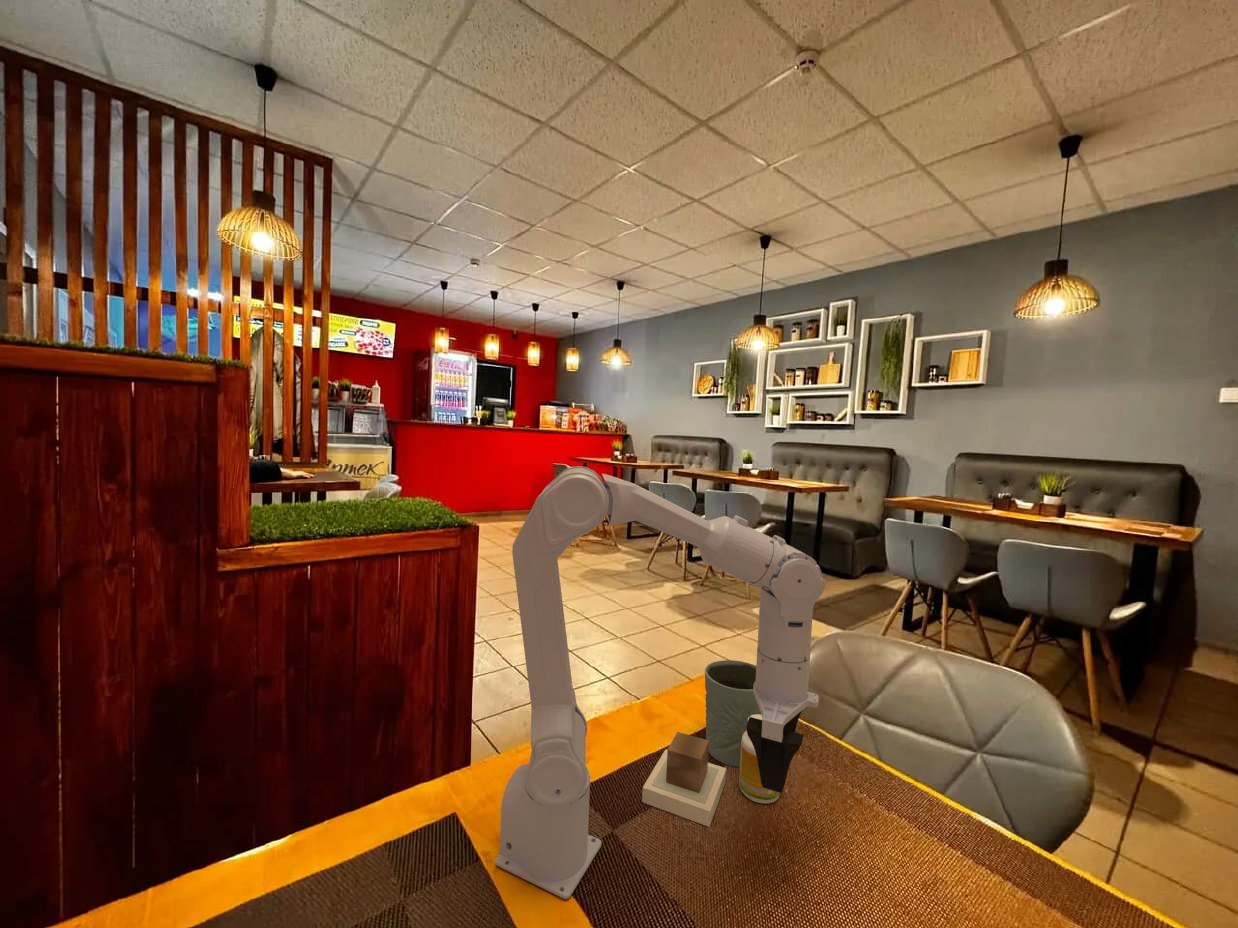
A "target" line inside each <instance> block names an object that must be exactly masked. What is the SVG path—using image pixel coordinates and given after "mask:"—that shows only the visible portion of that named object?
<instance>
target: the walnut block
mask: <svg viewBox="0 0 1238 928" xmlns="http://www.w3.org/2000/svg"><path fill="white" fill-rule="evenodd" d="M708 748H709V740H706V738H705V739H704V738H702V737H698V736H693V735H692V734H691V735H690V734H687V733H682V732H680V731H677V732H676V733H675V736H674V737H673V739H672V740H671V743H670V745H669V746H668V748H667V749H666V750H667V772H666V783H669V784H672V785H675V786H678V787H681V788H685V789H688V790H691V791H694V792H697V793H700V790H701V787H702V785H703V782H704V779H705V777H706V774H707V768H708V763H709V751H708Z"/></svg>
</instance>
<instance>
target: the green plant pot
mask: <svg viewBox="0 0 1238 928" xmlns="http://www.w3.org/2000/svg"><path fill="white" fill-rule="evenodd" d="M755 681H756V664H752V663H749V662H746V661H741V660H735V659H733V660H732V659H731V660H728V659H726V660H724V659H723V660H717V661H714V662H711V663H709V664H708V665H706V667H705V668H704V685H705V687H704V688H705V689H704V690H705V691H706V693H705V695H704V696H705V740H709V748H708V754H710V756H711V757H712V758H713V759H714V760H715V761H718V762H719V763H722V764H723V765H726V766H730V767H734V768H740V759H741V741H742V736H743V734H744V733H745V732H746V731H747V722H748V718H749V717H750V716H751V715H755V714H760V715H761V712H760V709H759V706H758V704H757V701H756V698H755V696H754V693H753V685H754V682H755Z"/></svg>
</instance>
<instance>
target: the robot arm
mask: <svg viewBox="0 0 1238 928" xmlns="http://www.w3.org/2000/svg"><path fill="white" fill-rule="evenodd" d="M601 475H602V477H603V478H602V477H601V476H600V475H599V474H598V473H597V472H596V471H595V470H593V469H591V468H589V467H586V466H581V465H579V466H578V465H577V466H571V467H568V468H566V469H564V470H562V471H561V472H560V473H559V474H558V475H556V477H554V479H552V481H550V483H548V484H547V485H546V486H545V488H544V489H543V490H542V492H541V493H540V494H538V496H537V497H536V499H535V501H534V504H533V506H532V507H531V509H530V512H529V513H528V515H527V517H526V518H525V520H524V522H523V525H522V526H521V528H520V529H519V531H518V534H517V535H516V537H515V540H513V543H512V550H511V555H512V562H513V570H514V576H515V577H514V578H515V585H516V592H517V593H516V595H517V601H518V611H519V617H520V624H521V625H520V626H521V627H520V628H521V633H522V634H521V635H522V642H523V651H524V658H525V666H526V675H527V682H528V690H529V698H530V699H529V700H530V707H531V709H530V710H531V711H530V712H531V715H530V746H531V752H530V757H529V762H528V763H524V764H521V765H519V766H518V767H517V768H516V769H515V771H514V772H513V773H512V775H511V776H510V778H509V779H508V781H507V784H506V786H505V788H504V792H503V795H502V799H501V805H500V830H499V831H500V835H499V838H500V839H499V854H498V855H497V856H496V858H495V859H494V861H495V862H494V863H495V866H497V867H499V868H501V869H503V870H505V871H507V872H510V873H511V874H513V875H515V876H517V877H519V878H522V879H523V880H526V881H527V882H530V883H532V884H534V885H536V886H537V887H539V888H542V889H544V890H546V891H548V892H549V893H551V894H554V895H556V896H558V897H559V898H562V899H564V900H567V899H569V898H570V897H571V896H572V895H573V893H574V891H575V889H576V888H577V886H578V885H579V883H580V882H581V880H582V878H583V877H584V875H585V874H586V872H587V870H588V868H589V867H590V865H591V864H592V862H593V860H594V858H595V857H596V856H597V854H598V852H599V851H600V849H601V847H602V840H601V839H600V838H597V837H595V836H593V835H590V834H589V815H590V813H589V812H590V791H591V790H590V788H591V783H590V782H591V774H590V770H589V769H588V767H587V764H586V763H587V761H586V760H587V759H586V758H587V756H586V752H587V751H586V749H587V745H586V741H587V739H586V738H587V731H588V724H587V719H586V717H585V715H584V713H583V711H581V709H580V708H579V706H578V703H577V699H576V691H575V690H574V688H573V687H574V686H573V681H572V670H571V663H570V654H569V646H568V638H567V637H568V636H567V630H566V629H567V628H566V621H565V612H564V604H563V602H564V601H563V596H562V588H561V578H560V570H559V562H558V560H559V557H560V556H561V555H562V554H563V553H564V552H565V551H566V550H567V549H568V548H569V546H570V545H571V544H572V543H573V541H575V540H577V539H579V538H581V537H583V536H585V535H587V534H588V533H589V532H592V531H593V530H594V529H597V528H598V526H599V525H601V523H602V522H603V521H604V520H605V518H606V516H607V518H608V519H607V520H608V521H609V525H610V526H618V525H622V524H625V523H626V524H627V523H631V522H638V523H641V524H643V525H646V526H647V527H650V528H652V529H655V530H657V531H659V532H662V533H665V534H667V535H669V536H672V537H675V538H677V539H678V540H680V541H684V542H685V543H689V544H691V545H692V546H695V547H697V548H698V550H699V553H700V556H701V560H702V561H703V563H704V564H707V565H708V566H710V567H713V568H715V569H718V570H720V571H722V572H724V573H725V574H728V575H731V576H733V577H735V578H737V579H739V580H742V581H743V582H745V583H747V584H750V585H752V586H754V587H760V598H759V599H760V601H759V611H758V628H757V629H758V630H757V632H758V633H757V649H756V664H755V665H756V681H755V682H754V685H753V693H754V696H755V698H756V701H757V704H758V706H759V709H760V712H761V715H762V718H763V719H762V720H760V719H756V718H752V717H749V720H748V722H747V734H748V736H749V738H750V740H751V742H752V744H753V746H754V749H755V752H756V756H757V761H758V767H759V774H760V779H761V784H762V787H763V788H767V789H770V790H773V791H776V792H779V793H780V794H781V793H782V792H783V790H784V787H785V785H786V780H787V777H788V772H789V770H790V765H791V762H792V760H793V758H794V756H795V755H796V754H797V753H798V751H799V750H800V748H801V746H802V744H803V739H804V734H802V733H799V732H796V731H797V730H796V729H797V725H798V721H799V719H800V716H801V714H802V712H803V711H804V709H805V708H807V707H809V708H818V707H819V701H820V696H819V694H817V693H814V692H811V691H809V679H810V665H811V664H810V663H811V662H810V660H811V647H812V645H811V643H812V630H813V629H812V628H813V615H814V606H815V603H816V602H817V601H818V600H819V599H820V597H821V596H822V595H823V593H824V591H825V587H826V583H827V581H826V579H824V578H823V577H822V576H823V574H822V570H821V567H820V565H819V564H817V561H816V560H815V559H814V558H813V557H812V556H811V555H808V554H806V553H804V552H803V551H801V550H799V549H797V548H795V547H793V546H791V545H789V544H787V542H786V540H785V539H784V538H782V537H781V536H779V535H775V534H774V535H773V537H771V536H769V535H767V534H765V533H762V532H760V531H759V530H756V529H754V528H752V527H751V526H748V525H749V521H748V520H746V519H745V518H743V517H741V516H738V515H737V514H736V515H734V516H733V518H731V517H729V516H726V515H724V516H723V515H722V516H719V517H717V518H714V519H710V520H707V519H705V518H703V517H701V516H699V515H697V514H695V513H693V512H691V511H689V510H687V509H685V508H684V507H681V506H680V505H678V504H675V503H674V502H671V501H669V500H668V499H666V498H664V497H662V496H659V495H657V494H656V493H654V492H652V491H650V490H647V489H646V488H644V487H642V486H640V485H637V484H636V483H633V482H631V481H627V480H625V479H621V478H619V477H616V476H613V475H609V474H606V473H601ZM603 480H604V481H603Z"/></svg>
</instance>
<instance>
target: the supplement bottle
mask: <svg viewBox="0 0 1238 928" xmlns="http://www.w3.org/2000/svg"><path fill="white" fill-rule="evenodd" d="M750 717H752V718H756V719H760V720H762V719H763V718H762V715H760V714H755V715H751V716H750ZM748 720H749V718H748ZM738 779H739V783H738V785H739V789H740V791H741V793H742V794H743V795H744V796H745V797H746V798H747V799H749V800H750V801H752V802H755V803H757V804H758V803H759V804H772V803H775V802H776V801H778V799H779V798H780V794H781V793H779V792H776V791H773V790H770V789H767V788H763V787H762V784H761V779H760V774H759V767H758V761H757V756H756V752H755V749H754V746H753V744H752V742H751V740H750V738H749V736H748V734H747V731H746V732H745V733H744V734H743V736H742V741H741V759H740V767H739V778H738Z"/></svg>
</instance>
